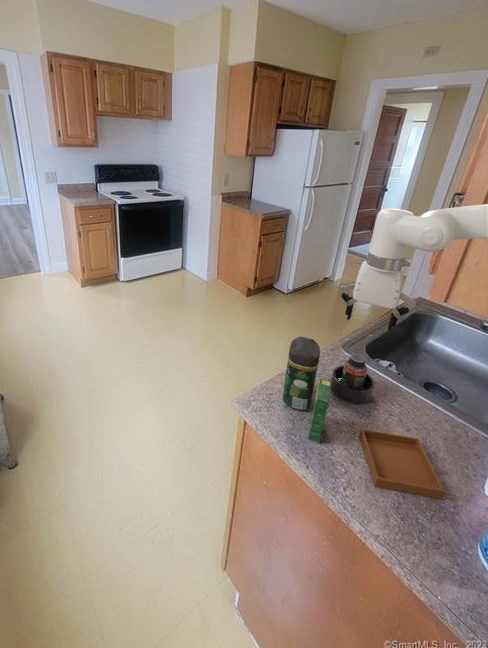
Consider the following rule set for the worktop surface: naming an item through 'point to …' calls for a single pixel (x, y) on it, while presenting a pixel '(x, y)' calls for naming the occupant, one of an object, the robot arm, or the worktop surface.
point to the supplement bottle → (354, 372)
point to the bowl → (348, 393)
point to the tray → (399, 464)
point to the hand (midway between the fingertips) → (368, 322)
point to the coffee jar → (301, 373)
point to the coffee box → (319, 410)
